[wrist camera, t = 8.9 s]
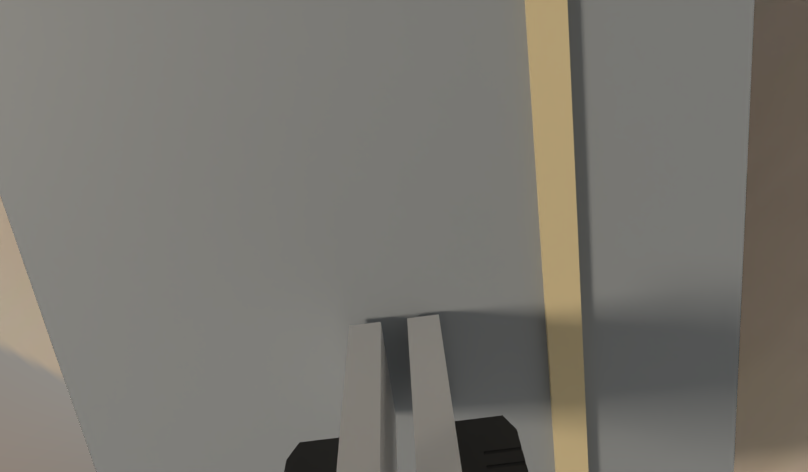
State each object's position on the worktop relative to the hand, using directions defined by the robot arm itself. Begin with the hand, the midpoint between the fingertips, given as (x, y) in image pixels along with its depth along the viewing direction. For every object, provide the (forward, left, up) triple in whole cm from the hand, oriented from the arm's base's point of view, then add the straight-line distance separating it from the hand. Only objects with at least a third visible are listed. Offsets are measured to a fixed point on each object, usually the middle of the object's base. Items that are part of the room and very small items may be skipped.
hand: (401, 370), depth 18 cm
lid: (0, 0, -2) cm, 2 cm away
